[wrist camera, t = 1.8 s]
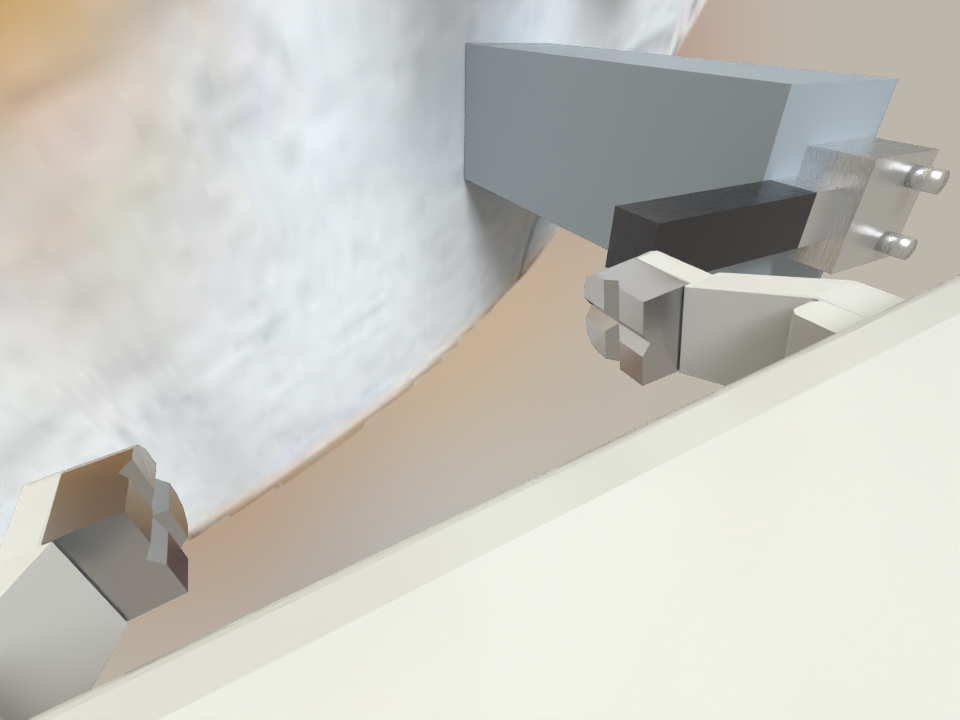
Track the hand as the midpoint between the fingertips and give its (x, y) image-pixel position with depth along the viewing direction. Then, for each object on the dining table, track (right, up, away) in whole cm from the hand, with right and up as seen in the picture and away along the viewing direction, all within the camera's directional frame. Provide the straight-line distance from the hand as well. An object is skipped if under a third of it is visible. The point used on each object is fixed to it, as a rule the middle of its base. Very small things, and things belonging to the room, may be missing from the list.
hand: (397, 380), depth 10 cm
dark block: (+13, +7, +15) cm, 21 cm away
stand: (+4, +21, +36) cm, 42 cm away
